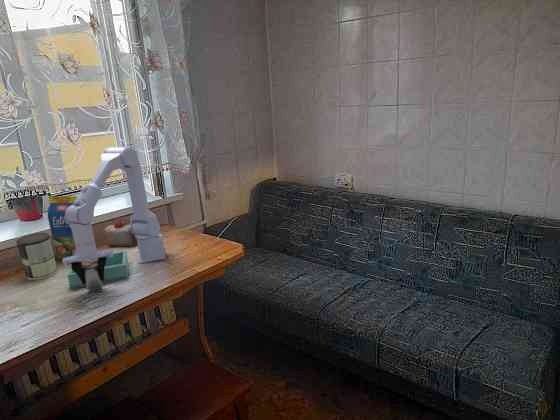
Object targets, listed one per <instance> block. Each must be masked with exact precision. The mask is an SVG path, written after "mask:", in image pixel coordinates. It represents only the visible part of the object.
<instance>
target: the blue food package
mask: <svg viewBox="0 0 560 420" xmlns="http://www.w3.org/2000/svg"><path fill="white" fill-rule="evenodd" d="M48 199H49V203H50V204H49V205H48V209H47V220H48V225H49V227H50V232H51V237H52V240H53V245H54V250H55V252H56V257H57V260H63V258H67V257H71V256H74V255H77V250H76V246H75V242H74V237H73V233H72V229H71V228H70V225H69V223H68V222H66V220H65V219H64V216H65V211H66V209H67V208H68V207H69V206H71V205H73V204H74V201H75V200H76V199H77V195H65V196H64V195H63V196H62V195H60V196H59V195H56V196H52V195H51V196H50V195H49V196H48Z"/></svg>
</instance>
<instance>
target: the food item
mask: <svg viewBox="0 0 560 420" xmlns="http://www.w3.org/2000/svg"><path fill="white" fill-rule="evenodd" d="M103 230H104V233H105V237H106V241H107V245H108V247H136V246H138V243H137V238H136V237H135V235H134V234H132V232H131V230H130V224H127V223H126V222H125V221H124V220H123V221H118V222H117V223H115V224H110V225H108V226H107V227H105V228H103Z"/></svg>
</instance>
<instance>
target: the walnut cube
mask: <svg viewBox="0 0 560 420" xmlns="http://www.w3.org/2000/svg"><path fill="white" fill-rule="evenodd" d="M89 264H98V259H96V260H90V261H86V262H82V268H83V267H84V266H86V265H89Z"/></svg>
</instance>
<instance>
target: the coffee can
mask: <svg viewBox="0 0 560 420" xmlns="http://www.w3.org/2000/svg"><path fill="white" fill-rule="evenodd" d="M50 237H51V236H50V234H49V233H48V232H37V233H31V234H28V235H24V236H22V237H19V238H18V239H17V240H16V245H17V248H18V251H19V256H20V259H21V262H22V267H23V270H24V274H25V278H26V279H27V280H28V281H37V280H42V279H45V278H48V277H51V276H53V275H54V274H56V273H57V272H58V267H57V266H58V265H57V262H56V258H55V255H54V254H55V253H54V251H53V247H52V246H53V245H52V242H51V238H50Z"/></svg>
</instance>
